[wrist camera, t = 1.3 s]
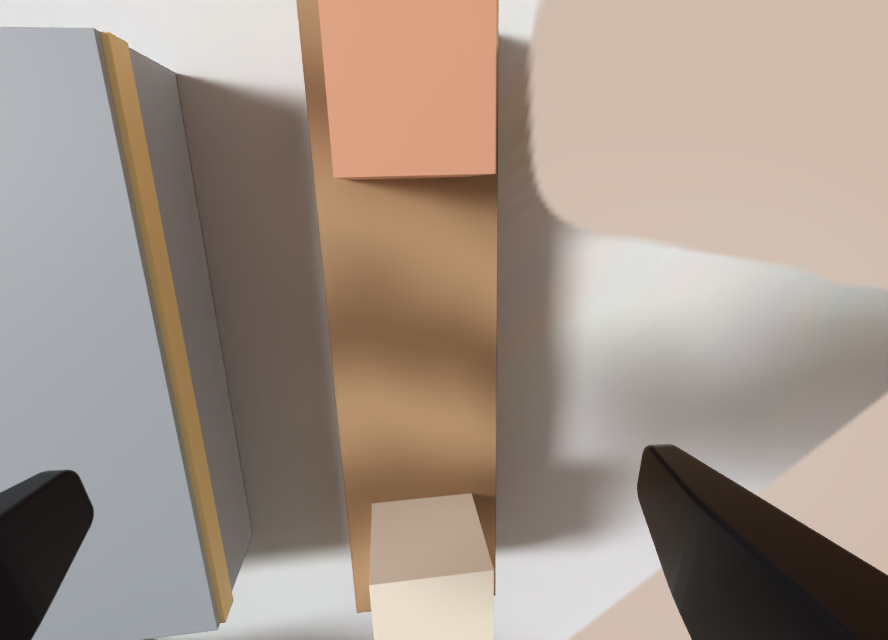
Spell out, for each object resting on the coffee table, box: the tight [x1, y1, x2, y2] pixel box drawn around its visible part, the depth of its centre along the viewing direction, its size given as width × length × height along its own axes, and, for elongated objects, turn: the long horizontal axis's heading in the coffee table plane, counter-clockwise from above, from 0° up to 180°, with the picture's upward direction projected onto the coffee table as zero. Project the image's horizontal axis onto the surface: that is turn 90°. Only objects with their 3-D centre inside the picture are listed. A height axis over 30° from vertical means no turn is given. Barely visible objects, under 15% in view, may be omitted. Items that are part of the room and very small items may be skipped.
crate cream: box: [369, 493, 494, 640], centre depth 17 cm, size 4×4×4 cm
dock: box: [0, 27, 253, 640], centre depth 17 cm, size 20×9×5 cm, turn 2°
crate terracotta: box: [318, 0, 496, 180], centre depth 13 cm, size 4×4×4 cm
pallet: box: [297, 0, 499, 613], centre depth 19 cm, size 23×6×4 cm, turn 2°
